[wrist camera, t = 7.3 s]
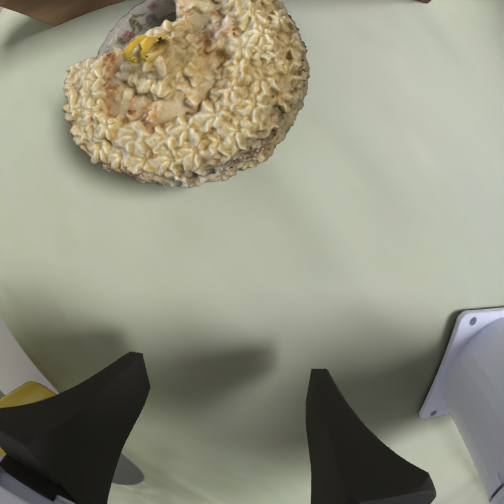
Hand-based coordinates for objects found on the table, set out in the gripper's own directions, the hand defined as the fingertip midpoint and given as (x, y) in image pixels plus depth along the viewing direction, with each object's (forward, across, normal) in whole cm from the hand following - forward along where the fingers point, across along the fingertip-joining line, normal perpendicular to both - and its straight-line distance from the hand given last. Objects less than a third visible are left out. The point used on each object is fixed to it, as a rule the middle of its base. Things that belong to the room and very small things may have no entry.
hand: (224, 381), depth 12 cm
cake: (+3, +2, -12) cm, 13 cm away
